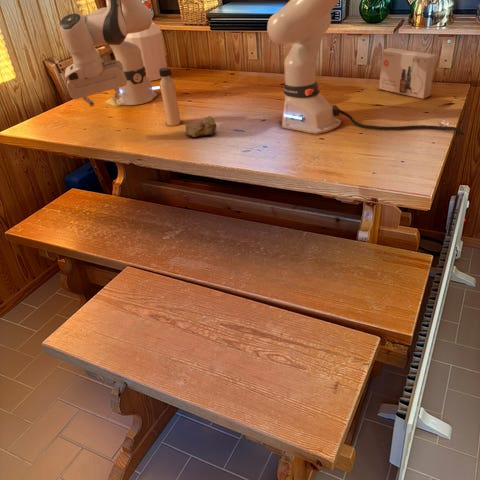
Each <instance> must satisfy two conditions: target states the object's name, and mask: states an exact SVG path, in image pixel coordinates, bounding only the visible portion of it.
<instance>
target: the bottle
mask: <svg viewBox="0 0 480 480" xmlns="http://www.w3.org/2000/svg"><path fill="white" fill-rule="evenodd" d="M159 87H160V92H161V98H162V103H163V109H164V113H165V114H164V115H165V120H166V125H167V126H170V127H173V126H179V125H180V124H181V122H182V121H181V115H180V110H179V102H178V97H177V91H176V85H175V81H174V79H173V78H172V77H171V75H170V76H167V77H162V78H161V79H160V81H159Z"/></svg>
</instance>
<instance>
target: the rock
mask: <svg viewBox="0 0 480 480" xmlns="http://www.w3.org/2000/svg"><path fill="white" fill-rule="evenodd" d="M217 126H218V125H217V123H216V122H215V118H214V117H213V116H212V115H209V116H205V117H204V119H201V120H200V121H199V122H198V123H187V124H185V132H186V134H187V136H189V137H192V138H197V137H203V136H212V135H214V134H215V131H216V130H217Z"/></svg>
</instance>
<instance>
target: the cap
mask: <svg viewBox="0 0 480 480" xmlns="http://www.w3.org/2000/svg"><path fill="white" fill-rule="evenodd" d="M159 73H160V76H161V77H167V76H170V77H171V76H172V70H171V68H170V67H167V68H161V69H159Z"/></svg>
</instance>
